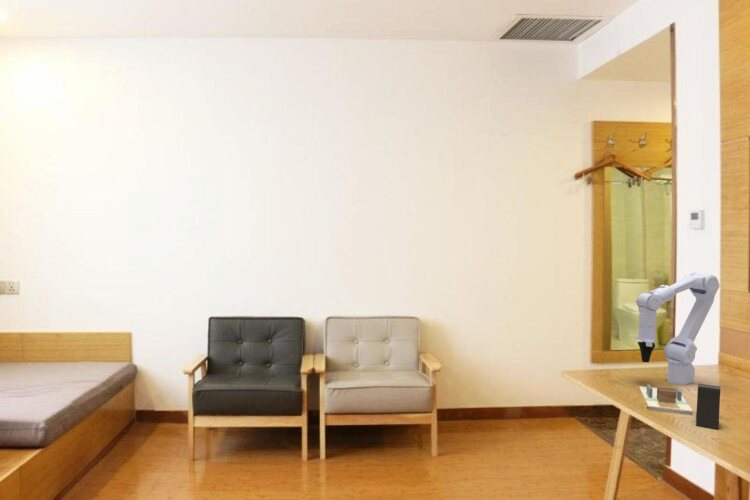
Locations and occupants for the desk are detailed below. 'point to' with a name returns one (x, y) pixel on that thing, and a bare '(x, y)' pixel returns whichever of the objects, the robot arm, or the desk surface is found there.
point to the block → (666, 394)
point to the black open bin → (708, 406)
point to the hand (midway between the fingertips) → (645, 361)
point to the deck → (652, 393)
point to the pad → (658, 401)
